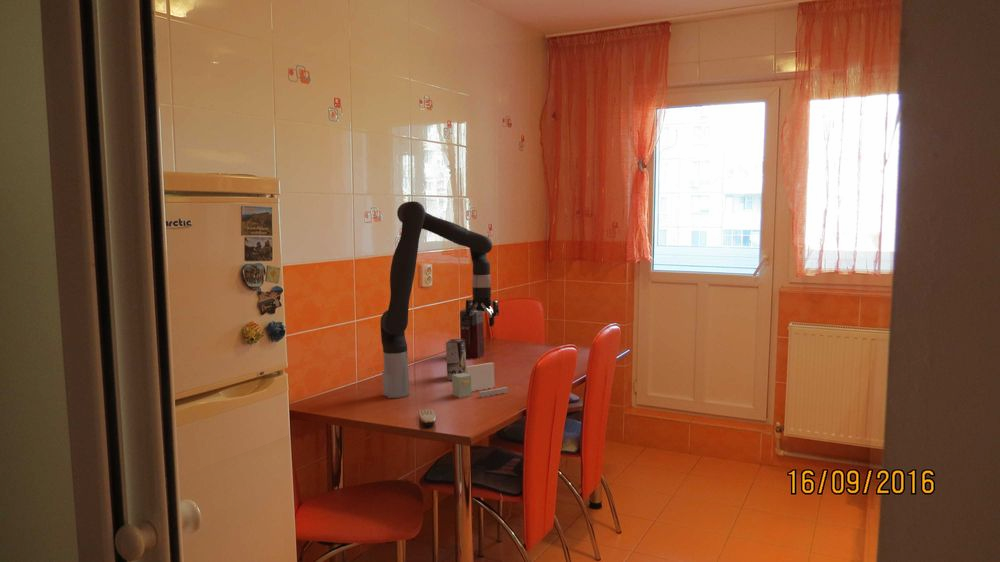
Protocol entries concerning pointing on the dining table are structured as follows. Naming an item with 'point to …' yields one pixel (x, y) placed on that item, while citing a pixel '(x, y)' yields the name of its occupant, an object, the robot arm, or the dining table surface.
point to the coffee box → (455, 357)
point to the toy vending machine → (472, 334)
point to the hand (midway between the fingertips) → (482, 325)
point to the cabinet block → (461, 385)
